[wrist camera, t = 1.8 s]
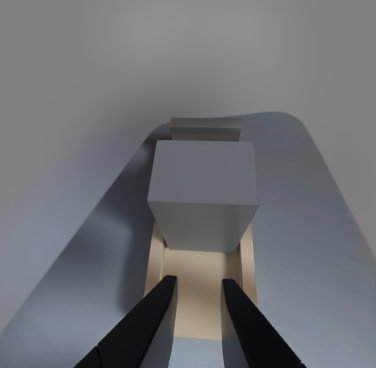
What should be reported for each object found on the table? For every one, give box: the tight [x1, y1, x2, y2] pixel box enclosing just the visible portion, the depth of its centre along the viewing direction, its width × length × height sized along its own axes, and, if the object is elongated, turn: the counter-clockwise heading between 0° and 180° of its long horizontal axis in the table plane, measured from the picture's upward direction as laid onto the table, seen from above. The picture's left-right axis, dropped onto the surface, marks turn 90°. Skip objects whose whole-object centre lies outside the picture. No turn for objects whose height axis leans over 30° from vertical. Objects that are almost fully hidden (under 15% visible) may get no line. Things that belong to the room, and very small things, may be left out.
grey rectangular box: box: [147, 140, 259, 253], centre depth 17 cm, size 4×6×10 cm
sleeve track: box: [143, 118, 258, 340], centre depth 20 cm, size 18×9×6 cm, turn 176°
